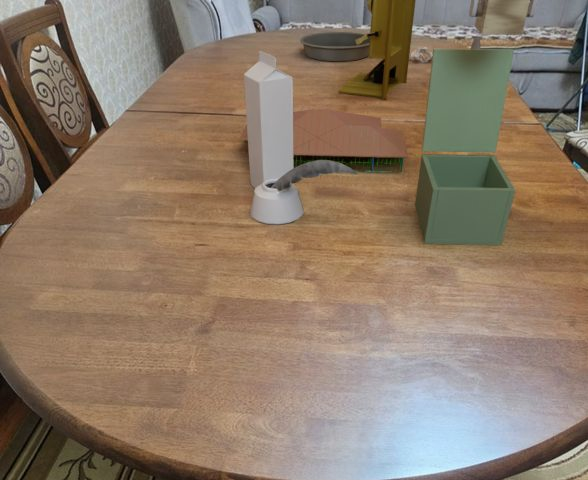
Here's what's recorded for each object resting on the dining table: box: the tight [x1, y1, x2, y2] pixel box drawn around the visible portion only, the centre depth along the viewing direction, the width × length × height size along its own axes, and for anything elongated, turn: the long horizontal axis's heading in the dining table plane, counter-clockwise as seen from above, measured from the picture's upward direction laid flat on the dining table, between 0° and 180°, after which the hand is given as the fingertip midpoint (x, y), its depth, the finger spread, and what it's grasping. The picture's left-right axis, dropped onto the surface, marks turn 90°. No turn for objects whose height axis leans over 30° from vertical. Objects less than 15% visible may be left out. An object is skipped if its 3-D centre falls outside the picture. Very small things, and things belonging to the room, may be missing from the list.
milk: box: [243, 50, 295, 189], centre depth 93 cm, size 6×6×22 cm
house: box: [238, 108, 410, 173], centre depth 111 cm, size 23×33×8 cm
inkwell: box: [249, 159, 358, 225], centre depth 88 cm, size 9×18×10 cm, turn 74°
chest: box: [414, 153, 516, 246], centre depth 86 cm, size 14×12×9 cm
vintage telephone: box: [338, 0, 416, 101], centre depth 140 cm, size 31×14×30 cm, turn 155°
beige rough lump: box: [409, 46, 433, 64], centre depth 171 cm, size 8×4×7 cm
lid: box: [421, 48, 515, 153], centre depth 84 cm, size 14×12×1 cm
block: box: [474, 0, 530, 36], centre depth 70 cm, size 5×5×5 cm
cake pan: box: [299, 31, 370, 62], centre depth 180 cm, size 25×25×4 cm
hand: (500, 16), depth 70 cm, fingers closed on block, 5 cm apart
